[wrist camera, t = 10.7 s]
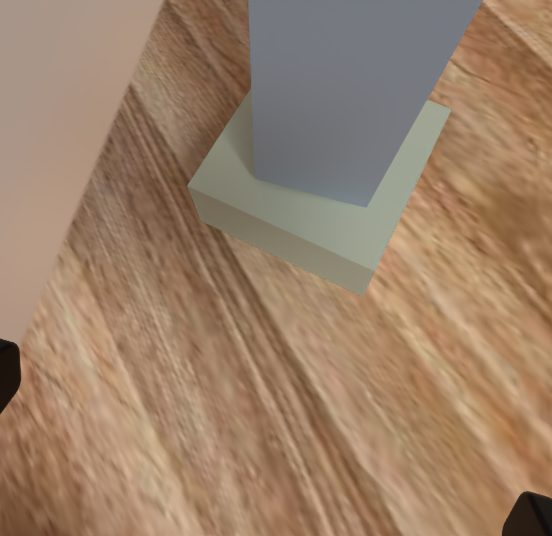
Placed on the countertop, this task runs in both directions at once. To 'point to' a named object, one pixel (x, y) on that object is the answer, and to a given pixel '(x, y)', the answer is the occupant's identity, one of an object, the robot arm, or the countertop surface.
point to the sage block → (309, 203)
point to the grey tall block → (343, 86)
